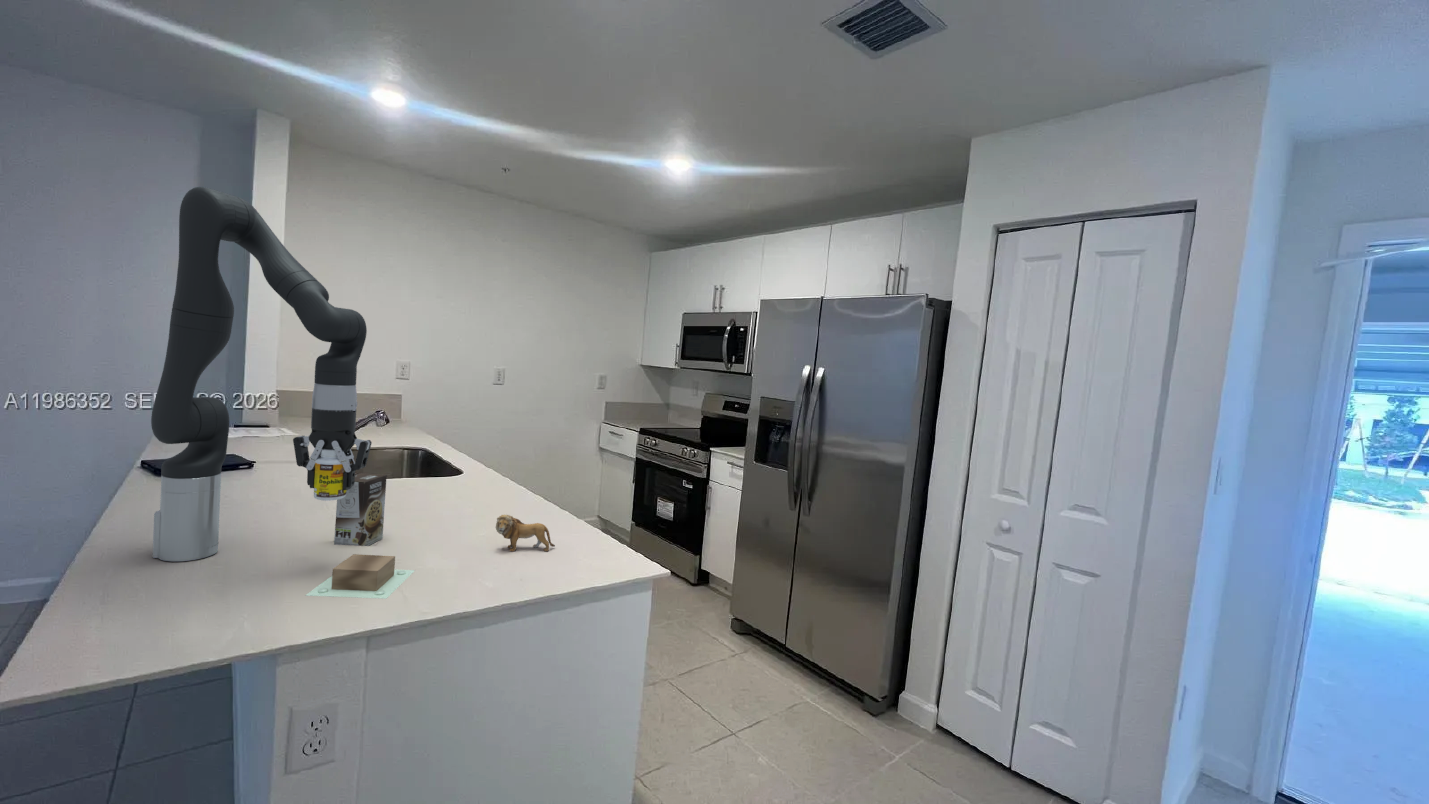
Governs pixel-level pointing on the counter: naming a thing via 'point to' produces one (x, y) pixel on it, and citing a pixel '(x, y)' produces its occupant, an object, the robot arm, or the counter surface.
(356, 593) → the plate
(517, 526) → the lion figurine
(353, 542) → the coffee box
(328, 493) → the supplement bottle
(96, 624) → the counter surface
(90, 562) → the counter surface
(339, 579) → the walnut block
